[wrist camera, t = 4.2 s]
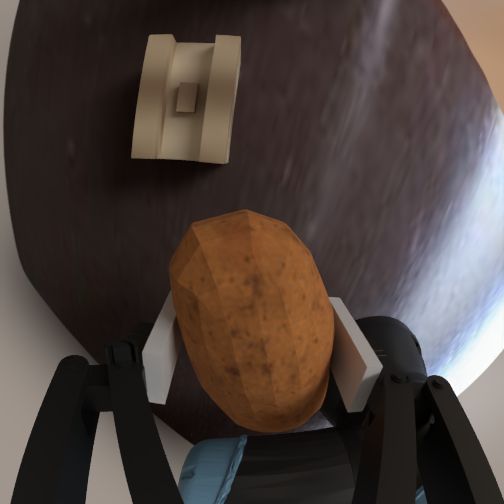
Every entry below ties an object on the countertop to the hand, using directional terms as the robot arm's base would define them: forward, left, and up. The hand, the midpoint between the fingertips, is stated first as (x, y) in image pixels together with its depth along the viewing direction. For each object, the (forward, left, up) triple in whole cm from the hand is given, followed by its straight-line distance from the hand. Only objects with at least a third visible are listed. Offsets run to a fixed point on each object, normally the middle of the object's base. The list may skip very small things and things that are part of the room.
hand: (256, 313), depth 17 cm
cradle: (+13, +6, -13) cm, 19 cm away
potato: (0, 0, -1) cm, 1 cm away
